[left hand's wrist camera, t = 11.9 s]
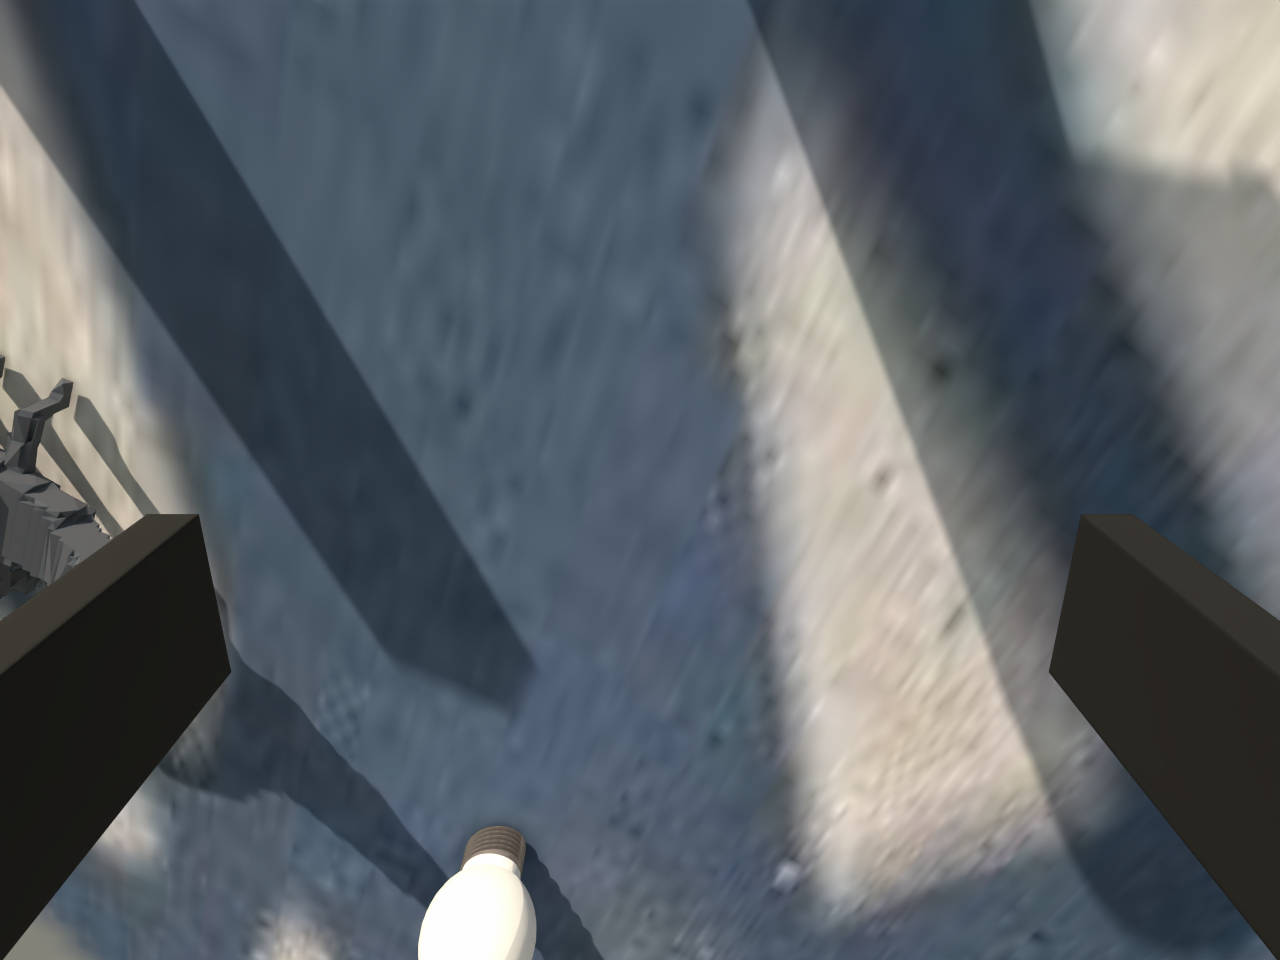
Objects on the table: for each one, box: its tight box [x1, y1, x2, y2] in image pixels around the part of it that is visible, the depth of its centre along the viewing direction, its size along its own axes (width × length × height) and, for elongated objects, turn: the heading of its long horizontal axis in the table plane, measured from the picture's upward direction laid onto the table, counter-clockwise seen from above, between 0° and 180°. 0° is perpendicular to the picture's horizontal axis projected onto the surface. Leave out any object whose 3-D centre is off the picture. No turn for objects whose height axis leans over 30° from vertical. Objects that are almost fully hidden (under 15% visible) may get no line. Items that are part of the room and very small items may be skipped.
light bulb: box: [418, 826, 536, 960], centre depth 50 cm, size 7×7×11 cm
